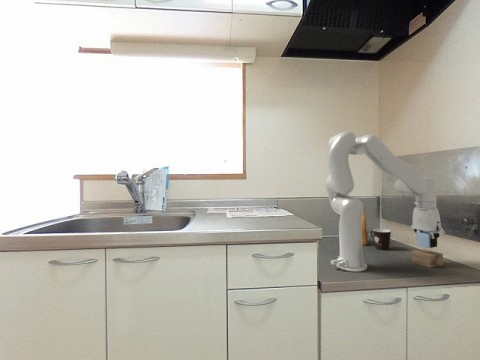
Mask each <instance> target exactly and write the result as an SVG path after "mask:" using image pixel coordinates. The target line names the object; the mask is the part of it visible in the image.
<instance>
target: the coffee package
mask: <svg viewBox="0 0 480 360" xmlns="http://www.w3.org/2000/svg"><path fill="white" fill-rule="evenodd" d="M363 208H364V211H363V218H362V244H363V246H366V245H367V244H369V242H368V241H369V240H368V238H369V237H368V235H369V233H368V231H367V220H366V210H365V206H363Z"/></svg>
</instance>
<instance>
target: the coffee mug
mask: <svg viewBox="0 0 480 360" xmlns="http://www.w3.org/2000/svg"><path fill="white" fill-rule="evenodd" d="M391 232H392V230H391V229H387V228H386V229H385V228H374V229H372V230H370V236H371V237H372V239H373V240H374V245H375V249H376V250H379V251H390V246H391V245H390V243H391V236H392V235H391V234H392V233H391Z"/></svg>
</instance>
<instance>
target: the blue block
mask: <svg viewBox="0 0 480 360" xmlns="http://www.w3.org/2000/svg"><path fill="white" fill-rule="evenodd" d="M430 238H432V237H431V234H430V232H427V231H424V232H418V235H417V246H419V247H422V248H425V249H433V248H432V247H431V244H430Z"/></svg>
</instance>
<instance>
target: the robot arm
mask: <svg viewBox="0 0 480 360" xmlns="http://www.w3.org/2000/svg"><path fill="white" fill-rule="evenodd" d="M328 148H329V151H328V154H327V165H328V171H329V175H328V176H327V177H326V180H325V189H326V193H327V196H328V200H329V204H330V207H331V209H332V211H333V212H335V213H336V214H338V215H340V216H339V217H340V218H339V221H338V233H339V234H338V235H339V237H338V240H339V241H338V242H339V244H338V245H339V255H338V256H337V258H336V259H331V260H330V264H331V265H336V267H337V268H338V269H340V270H344V271H348V272H364V271H366V270H367V269H368V265H367V263H365V262H364V254H363V251H364V249H363V247H364V245H363V244H362V218H363V211H364V210H365V207H364V205H363V203H362V201H361V200H360V199H359V198H357V197H355V196H353V195H352V196H351V195H349V194H350V193H351V192H352V191H353V190H354V188H355V182H354V178H353V174H352V170H351V167H350V163H349V155H352V156H353V155H354V156H355V155H359V156H360V155H365V156H366V157H367V158H368V159H369V161H371V162H372V163H373V164H374V166H376V168H377V169H378V170H380V171H381V172H383V173H386V174H389V175H390V176H391V175H392V176H394V177H396V178H397V180H396V181H395V183H394V189H395V191H396V192H397V193H399V194H402V195H406V196H407V195H408V196H415V201H414V202H413V204H414V205H415V207H414V209H413V211H412V221H411V222H412V224H411V225H410V228H411V229H412V230H413V231H414V232H415V235H416V236H418V232H424V231H427V232H430V234H431V237H432V238H430V244H431V247H432V248H431V249H433V248H438V239H439V237H441V236H442V235H444V234H445V233H446V232H445V230H444V229H443V227H442V223H441V217H440V212H439V209H438V208H437V185H436V183H437V182H436V179H435V178H434V177H424V176H423V175H422V174H421V173H420V172H419V170H417V169H416V168H415V167H413V166H412V165H410V164H408V163H407V162H405V161H404V160H402V159H400V158H398V157H397V155H395V154H394V153H393V151H391V150H390V149H389V147H388V146H387V145H386V144H385V143H384V142H383V141H382V139H380V138H379V136H378V135H376V134H373V133H371V134H370V133H369V134H365V135H362V136H356V135H355V133H354V132H352V131H343V132H339V133H338V134H336V135H333V136H332V137H330V139H329V141H328ZM363 207H364V208H363Z"/></svg>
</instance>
